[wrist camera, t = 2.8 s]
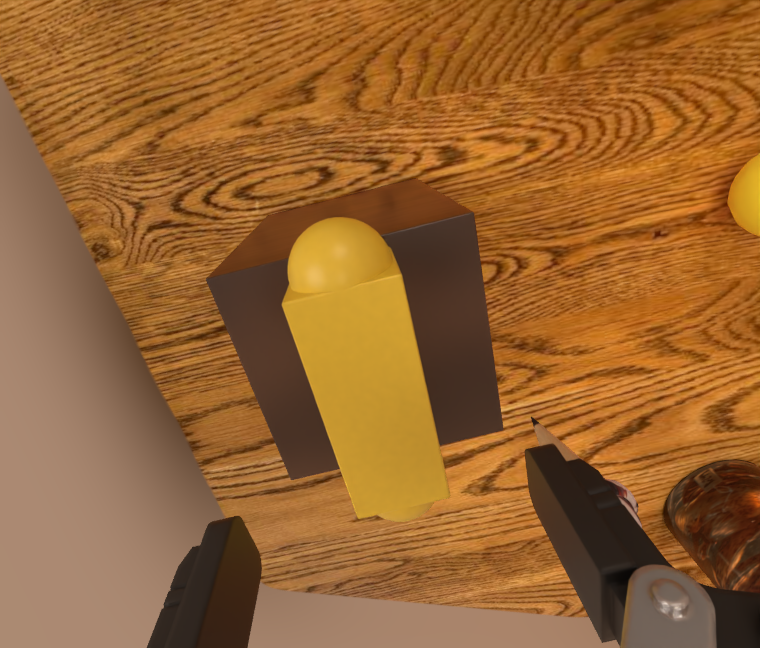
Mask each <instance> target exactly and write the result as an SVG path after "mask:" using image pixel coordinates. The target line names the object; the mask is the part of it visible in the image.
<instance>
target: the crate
mask: <svg viewBox="0 0 760 648" xmlns="http://www.w3.org/2000/svg"><path fill="white" fill-rule="evenodd" d="M334 217H346V218H352V219H356V220H359V221H362V222H364V223H366V224H367V225H369V226H370V227H372V228H373V229H375V230H376V231H377V232H378V233H379V234H380V235H381V237H382V238H383V239H384V240H385V242H386V244H387V245H388V247H390V248H391V250H392V252H393V254H394V257H395V259H396V262H397V264H398V267H399V269H400V271H401V274H402V277H403V282H404V286H405V291H406V295H407V300H408V304H409V309H410V313H411V318H412V323H413V327H414V332H415V336H416V341H417V345H418V350H419V354H420V359H421V363H422V368H423V373H424V377H425V382H426V386H427V391H428V395H429V400H430V404H431V409H432V413H433V418H434V422H435V427H436V432H437V436H438V441H439V445H443V444H447V443H451V442H456V441H460V440H464V439H468V438H472V437H477V436H481V435H485V434H489V433H494V432H498V431H502V430H503V422H502V415H501V407H500V400H499V393H498V386H497V378H496V371H495V364H494V356H493V349H492V342H491V334H490V327H489V320H488V313H487V305H486V298H485V291H484V283H483V276H482V269H481V261H480V254H479V247H478V239H477V232H476V225H475V218H474V213H473V212H472V211H470V210H469V209H467V208H465V207H464V206H462V205H460V204H459V203H457V202H455V201H453V200H452V199H450V198H448V197H447V196H445V195H443V194H442V193H440V192H438V191H437V190H435V189H433V188H431V187H430V186H428V185H426V184H425V183H423V182H421V181H420V180H418V179H416V178H414V179H410V180H406V181H402V182H398V183H394V184H390V185H386V186H382V187H378V188H375V189H371V190H367V191H363V192H359V193H355V194H351V195H347V196H343V197H339V198H335V199H331V200H327V201H323V202H319V203H315V204H311V205H307V206H303V207H299V208H295V209H291V210H287V211H283V212H279V213H275V214H271V215H268V216H267V217H266V218H265V219H264V220H263V221H262V222H261V223H260V224H259V225H258V226H257V227H256V228H255V229H254V230H253V231H252V232H251V233H250V234H249V235H248V236H247V237H246V239H245V240H244V241H243V242H242V243H241V244H240V245H239V246H238V247H237V248H236V249H235V250H234V251H233V252H232V253H231V254H230V255H229V256H228V257H227V258H226V259H225V260H224V261H223V262H222V263H221V264H220V265H219V266H218V267H217V268H216V269H215V270H214V271H213V272H212V273H211V274H210V275H209V276H208V277H207V278H206V281H207V283H208V286H209V288H210V290H211V293H212V295H213V297H214V300H215V302H216V304H217V307H218V309H219V311H220V314H221V316H222V318H223V321H224V323H225V326H226V328H227V330H228V333H229V335H230V337H231V340H232V342H233V344H234V347H235V349H236V351H237V354H238V356H239V358H240V361H241V363H242V366H243V368H244V370H245V373H246V375H247V377H248V380H249V382H250V384H251V387H252V389H253V391H254V394H255V396H256V398H257V401H258V403H259V406H260V408H261V410H262V413H263V415H264V417H265V420H266V422H267V424H268V427H269V429H270V431H271V434H272V436H273V438H274V441H275V443H276V445H277V448H278V450H279V453H280V455H281V457H282V460H283V462H284V464H285V467H286V469H287V471H288V474H289V476H290V478H291V480H294V479H299V478H303V477H307V476H311V475H316V474H320V473H324V472H328V471H333V470H337V469H340V467H339V465H338V462H337V459H336V456H335V453H334V450H333V448H332V445H331V442H330V439H329V436H328V434H327V431H326V428H325V425H324V422H323V420H322V417H321V414H320V411H319V408H318V405H317V403H316V400H315V397H314V394H313V391H312V389H311V386H310V383H309V380H308V377H307V375H306V372H305V369H304V366H303V363H302V361H301V358H300V355H299V352H298V349H297V346H296V344H295V341H294V338H293V335H292V332H291V330H290V327H289V324H288V321H287V318H286V316H285V313H284V310H283V307H282V302H283V299H284V296H285V294H286V291H287V289H288V286H289V280H288V260H289V256H290V253H291V250H292V248H293V245H294V244H295V242H296V240H297V239H298V238H299V237H300V235H301V234H302V233H303V232H304V231H305V230H306V229H307V228H309V227H310V226H312V225H313V224H315V223H317V222H319V221H322V220H325V219H328V218H334Z"/></svg>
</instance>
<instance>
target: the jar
mask: <svg viewBox="0 0 760 648" xmlns="http://www.w3.org/2000/svg"><path fill="white" fill-rule="evenodd" d="M664 521H665V523H666V525H667V527H668V529H669V530H670V531H671V533H672V534H673V535H674V536H675V538H676V539H677V540H678V541H679V543H680V544H681V545H682V546H683V548H684V549H685V550H686V551H687V552H688V554H689V555H690V556H691V557H692V558H693V560H694V561H695V562H696V563H697V565H698V566H699V567H700V568H701V569H702V571H703V572H704V573H705V574H706V575H707V577H708V578H709V579H710V580H711V581H712V583H713V584H714V585H715V586H716V587H717V588H718V589H726V590H735V591H745V592H755V593H760V468H759V467H758V466H756V465H754V464H752V463H750V462H746V461H741V460H727V461H721V462H717V463H713V464H710V465H707V466H705V467H703V468H700V469H698V470H697V471H695V472H693V473H692V474H690V475H689V476H687V477H686V478H685V479H683V480H682V481H681V482H680V483H679V484H678V485H677V486H676V487H675V488H674V489H673V491H672V492H671V494H670V495H669V497H668V499H667V501H666V504H665V507H664Z"/></svg>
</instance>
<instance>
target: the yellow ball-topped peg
mask: <svg viewBox="0 0 760 648" xmlns="http://www.w3.org/2000/svg"><path fill="white" fill-rule="evenodd" d="M288 280H289V286H288V289H287V291H286V294H285V296H284V299H283V302H282V307H283V310H284V313H285V316H286V318H287V321H288V324H289V327H290V330H291V332H292V335H293V338H294V341H295V344H296V346H297V349H298V352H299V355H300V358H301V361H302V363H303V366H304V369H305V372H306V375H307V377H308V380H309V383H310V386H311V389H312V391H313V394H314V397H315V400H316V403H317V405H318V408H319V411H320V414H321V417H322V420H323V422H324V425H325V428H326V431H327V434H328V436H329V439H330V442H331V445H332V448H333V450H334V453H335V456H336V459H337V462H338V465H339V467H340V470H341V473H342V476H343V479H344V481H345V484H346V487H347V490H348V493H349V495H350V498H351V501H352V504H353V507H354V510H355V512H356V515H357V518H358V519H362V518H366V517H370V516H374V515H378V516H380V517H382V518H384V519H386V520H389V521H393V522H406V521H411V520H414V519H416V518H418V517H420V516H422V515H423V514H424V513H426V512H427V511H428V510H429V509H430V508H431V507H432V505H433V504H434V502H435V501H439V500H443V499H447V498H450V491H449V486H448V482H447V477H446V472H445V468H444V463H443V459H442V454H441V450H440V445H439V441H438V436H437V432H436V427H435V422H434V418H433V413H432V409H431V404H430V400H429V395H428V391H427V386H426V382H425V377H424V373H423V368H422V363H421V359H420V354H419V350H418V345H417V341H416V336H415V332H414V327H413V323H412V318H411V313H410V309H409V304H408V300H407V295H406V291H405V286H404V282H403V277H402V274H401V271H400V269H399V267H398V264H397V262H396V259H395V257H394V254H393V252H392V250H391V248H390V247H388V245H387V244H386V242H385V240H384V239H383V238H382V237H381V235H380V234H379V233H378V232H377V231H376V230H375V229H373V228H372V227H370V226H369V225H367V224H366V223H364V222H362V221H359V220H356V219H352V218H346V217H334V218H328V219H325V220H322V221H319V222H317V223H315V224H313V225H312V226H310V227H309V228H307V229H306V230H305V231H304V232H303V233H302V234H301V235H300V237H299V238H298V239H297V240H296V242H295V244H294V245H293V248H292V250H291V253H290V256H289V260H288Z"/></svg>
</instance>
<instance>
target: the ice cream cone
mask: <svg viewBox="0 0 760 648" xmlns="http://www.w3.org/2000/svg"><path fill="white" fill-rule="evenodd" d="M531 419H532V422H533V425H534V429H535V432H536V435H537V439H538V442H539V445H540V446H542V445H546V444H551V443H553V444H555V445H556V447H557V448H558V450H559V451H560V452H561V454H562V455H563V457H564V458H565V460H566V461H570V460H574V459H578V458H580V457H579V456H578V455H576V454H575V453H574V452H573V451H572V450H570V449H569V448H568V447H567V446H566V445H565V444H563V443H562V442H561V441H560V440H559V439H558V438H556V437H555V436H554V435H553V434H552V433H550V432H549V431H548V430H547V429H546V428H545V427H543V426H542V425H541V424H540V423H539V422H537V421H536V420H535V419H534V418H533V417H531ZM580 459H581V458H580ZM581 460H582V459H581ZM584 462H585V461H584ZM604 479H605V478H604ZM605 480H606V482H607V483H608V484H609V486H610V487H611V490H612V491H614V492H615V494H616V495H617V496H618V498H619V499H620V500H621V503H622V504H623V505H625V507H626V508H627V509H628V511H629V512H630V513H631V515H632V516H633V517H634V519H635V520H636V521H637V523H638V524H639V525H640V527H641V528H642V525H641V522H640V519H639V517H638V515H637V512H638V504H637V502H636V500H635V498H634V496H633V495H632V493H631V492H630V491H629V490H628V489H627V488H626V487H625V486H623V485H622V484H620V483H619V482H617V481H615V480H610V479H605Z"/></svg>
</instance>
